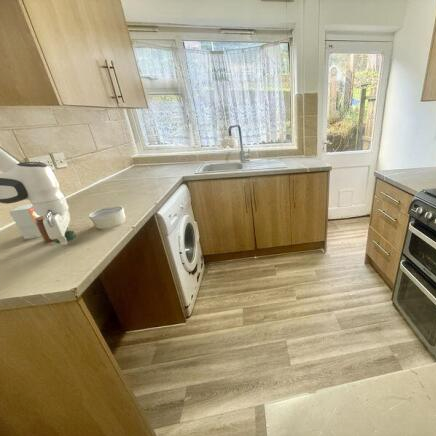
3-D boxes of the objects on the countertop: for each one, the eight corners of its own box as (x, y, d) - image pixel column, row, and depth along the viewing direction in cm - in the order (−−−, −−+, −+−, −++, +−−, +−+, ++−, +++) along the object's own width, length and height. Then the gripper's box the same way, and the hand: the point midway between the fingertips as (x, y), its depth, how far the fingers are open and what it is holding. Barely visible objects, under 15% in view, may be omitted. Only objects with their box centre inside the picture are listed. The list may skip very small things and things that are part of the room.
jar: (44, 245, 98) (32, 221, 93) (46, 239, 102) (35, 216, 98) (63, 240, 101) (53, 217, 97) (65, 235, 105) (54, 213, 101)
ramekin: (108, 219, 121) (103, 206, 118) (134, 218, 120) (129, 205, 117) (87, 231, 109) (81, 217, 106) (115, 231, 108) (110, 216, 105)
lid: (79, 233, 98) (77, 229, 97) (72, 241, 92) (70, 236, 92) (59, 236, 96) (57, 232, 95) (51, 244, 90) (49, 239, 90)
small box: (43, 236, 104) (28, 208, 99) (24, 239, 103) (8, 211, 97) (52, 229, 111) (38, 202, 106) (35, 231, 110) (20, 204, 104)
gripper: (57, 213, 83) (73, 248, 88) (66, 198, 98) (79, 228, 104) (32, 218, 79) (50, 254, 85) (45, 201, 95) (60, 232, 101)
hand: (66, 240), depth 94 cm, fingers closed on lid, 6 cm apart
